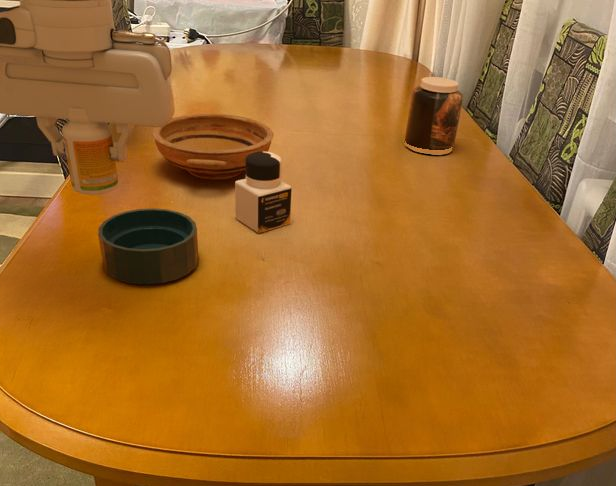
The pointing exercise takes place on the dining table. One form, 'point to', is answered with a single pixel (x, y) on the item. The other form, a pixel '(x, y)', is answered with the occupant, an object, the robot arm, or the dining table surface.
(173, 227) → the teal bowl
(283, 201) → the medicine bottle
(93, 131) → the supplement bottle
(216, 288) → the dining table surface
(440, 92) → the jar
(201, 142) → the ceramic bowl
